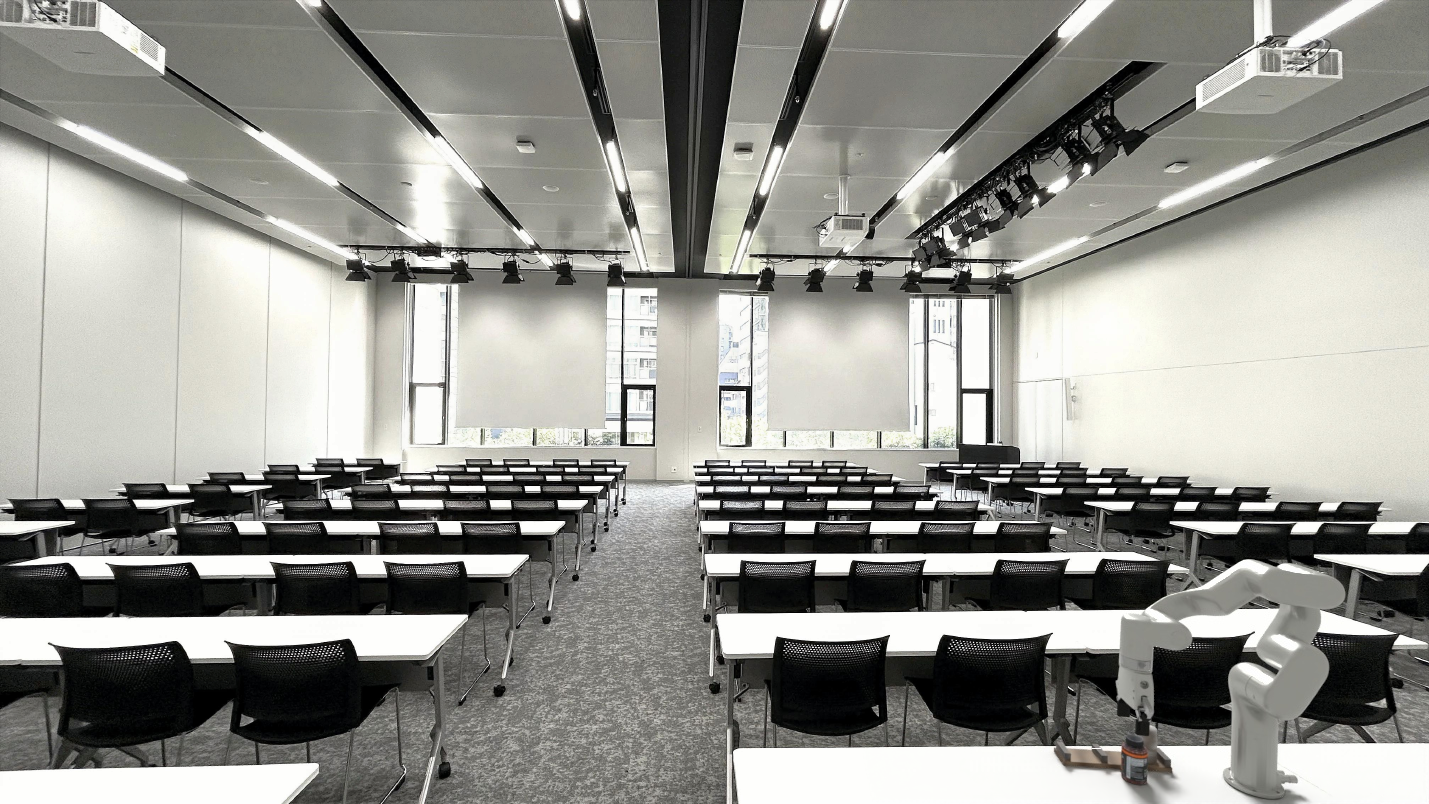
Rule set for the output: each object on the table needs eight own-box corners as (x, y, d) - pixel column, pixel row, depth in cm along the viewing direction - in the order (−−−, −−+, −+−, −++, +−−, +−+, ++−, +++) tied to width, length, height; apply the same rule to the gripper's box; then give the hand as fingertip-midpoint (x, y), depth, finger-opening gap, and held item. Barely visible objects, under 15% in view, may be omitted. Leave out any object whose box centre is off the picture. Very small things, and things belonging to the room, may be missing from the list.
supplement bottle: (1120, 770, 182) (1121, 729, 182) (1146, 777, 179) (1147, 735, 178) (1120, 781, 177) (1121, 739, 176) (1147, 788, 174) (1148, 745, 173)
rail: (1158, 758, 188) (1158, 722, 188) (1172, 772, 181) (1173, 735, 181) (1053, 751, 191) (1054, 716, 191) (1063, 765, 184) (1064, 729, 184)
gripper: (1169, 677, 168) (1165, 744, 168) (1133, 650, 185) (1130, 710, 186) (1137, 675, 169) (1134, 741, 169) (1105, 648, 186) (1102, 708, 186)
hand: (1132, 725), depth 177 cm, fingers open, 9 cm apart
